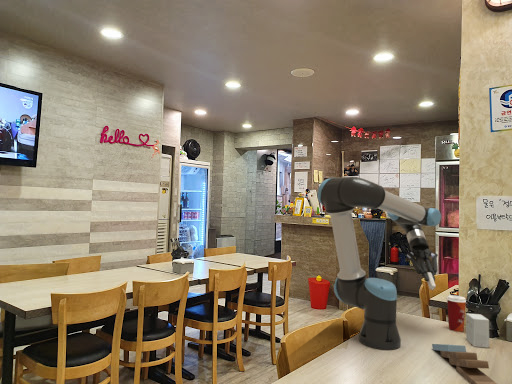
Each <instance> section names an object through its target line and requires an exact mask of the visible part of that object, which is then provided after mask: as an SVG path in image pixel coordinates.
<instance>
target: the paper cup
mask: <svg viewBox="0 0 512 384" xmlns="http://www.w3.org/2000/svg"><path fill="white" fill-rule="evenodd" d="M466 301H467V299H466V297H464V296H460V295H455V294H454V295H453V294H451V295H448V296H447V298H446V302H447V318H448V320H447V322H448V329H449V330H450V331H453V332H457V333H461V332H464V327H465V320H466V305H467V302H466Z"/></svg>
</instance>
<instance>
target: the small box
mask: <svg viewBox="0 0 512 384" xmlns="http://www.w3.org/2000/svg"><path fill="white" fill-rule="evenodd" d="M465 322H466V323H465V325H466V326H465V329H466V330H465V332H466V333H465V336H466V338H465V339H466V341H467V342H469V344H471V345H472V346H473V347H475V348H476V347H477V348H488V349H489V348H490V320H489V319H488V318H487V317H485V316H484V315H482V314H479V313H466V312H465Z"/></svg>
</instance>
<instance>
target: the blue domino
mask: <svg viewBox="0 0 512 384" xmlns="http://www.w3.org/2000/svg"><path fill="white" fill-rule="evenodd" d="M431 347H432V350H433V351H439V352H440V351H449V352H467V348H466V345H459V344H446V343H445V344H443V343H439V344H438V343H431Z"/></svg>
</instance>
